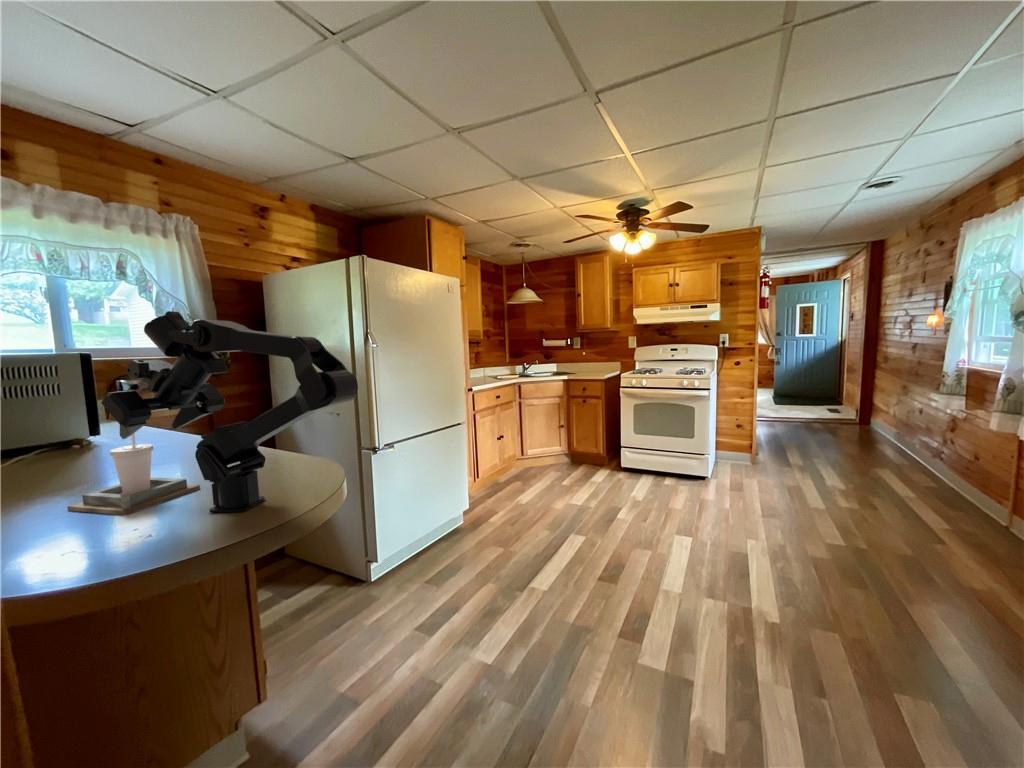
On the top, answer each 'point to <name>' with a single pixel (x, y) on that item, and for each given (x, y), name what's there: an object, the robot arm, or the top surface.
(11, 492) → the top surface
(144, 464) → the smoothie
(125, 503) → the socket
